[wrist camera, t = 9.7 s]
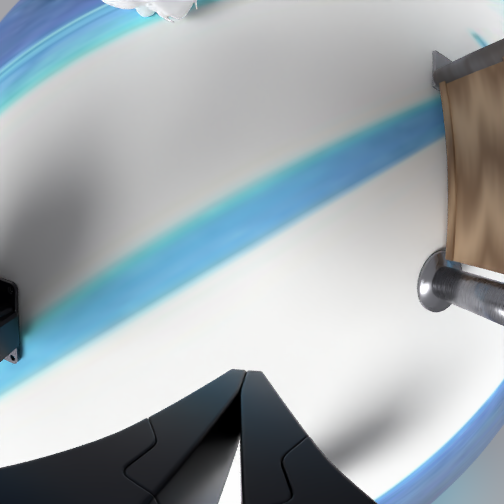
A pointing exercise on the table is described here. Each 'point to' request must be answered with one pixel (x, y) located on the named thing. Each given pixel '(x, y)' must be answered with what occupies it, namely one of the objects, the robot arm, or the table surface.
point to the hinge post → (459, 289)
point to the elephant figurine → (156, 7)
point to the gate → (475, 156)
